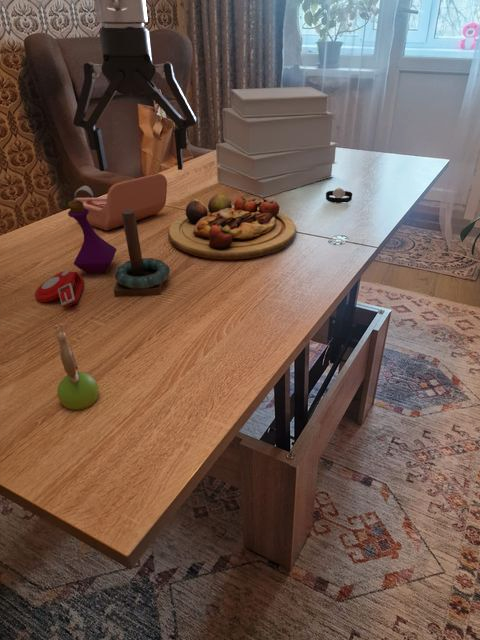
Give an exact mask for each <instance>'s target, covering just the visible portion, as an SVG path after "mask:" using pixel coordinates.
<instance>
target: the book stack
mask: <svg viewBox="0 0 480 640" xmlns="http://www.w3.org/2000/svg"><path fill="white" fill-rule="evenodd" d="M330 97H331V96H330V95H329V94H326V93H324V92H322V91H320V90H318V89H316V88H314V87H312V86H290V87H287V86H286V87H261V88H260V87H259V88H258V87H257V88H256V87H255V88H231V89H230V105H231V106H230V107H225V108H222V109H221V112H222V114H221V115H222V131H223V132H222V133H223V135H222V136H223V141H224V142H220V143H216V144H215V152H216V154H215V155H216V164H217V165H218V166H216V176H217V182H218V184H222V185H224V186H227V187H230V188H233V189H236V190H238V191H241V192H245V193H248V194H251V195H254V196H256V197H259V198H262V199H265V198H267V197H271V196H274V195H277V194H280V193H284V192H287V191H290V190H293V189H297V188H300V187H303V186H307V185H310V184H314V183H317V181H318V182H321V181H324V180H327V179H326V178H328V179H330V178H329V177H331V176H332V174H333V165H335V164H338V161H335V160H336V149H337V148H336V147H337V146H339V143H338V142H335V141H332V131H333V130H332V129H333V117H334V116H336V113H334V112H331V111H328V110H327V107H328V106H327V104H328V98H330ZM331 178H332V177H331ZM323 179H324V180H323ZM320 180H321V181H320Z"/></svg>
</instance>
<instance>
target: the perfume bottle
mask: <svg viewBox="0 0 480 640" xmlns="http://www.w3.org/2000/svg"><path fill="white" fill-rule="evenodd" d="M79 191H85V192H87V193H88V194H89V195H90V196H91V198H94V192H93V191H92V189H91V188H90V187H89V186H88V185H82V186H81V187H79V188H77V189H76V191H75V192H74V198H75V200H74V199H73V200H70V201H69V202H68V203H67V206H68V208H69V210H68V212H67V215H68V217H69V218H73V219H74V220H75V221H76V222H77V223H78V224H79V227H80V229H81V230H82V234H83V242H82V243H81V247H80V250H79V251H78V254H77V255H76V257H75V259H74V261H73V266H75V267H76V268H78V269H80V271H82V272H83V273H85V274H86V275H105V274H107V273H108V271H109V269H110V267H111V265H112V262H113V260H114V257H115V255H116V252H117V248H116V247H115V246H113V245H112V244H110V243H109V242H107V241H106V240H104V239H103V238H102V237H101V236H100V235H99V234H98V233H97V232H96V231H95V229H94V227H93V226H91V225H90V224H89V222H88V220H87V214H88V213H89V211H88V209H86V208H84V205H83V202H81V201H79V200H76V198H77V197H76V196H77V194H78V192H79Z"/></svg>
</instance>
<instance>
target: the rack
mask: <svg viewBox="0 0 480 640" xmlns="http://www.w3.org/2000/svg"><path fill="white" fill-rule="evenodd" d="M122 218H123V224H124V225H123V229H124V234H125V240H126V246H127V251H128V258H129V261H130V263H131V269H132V273H130V274H129V275H130V276H134V277H139V276H147V275H151V274H154V273H155V272H157V271H154V270H144V267H143V261H142V258H143V255H142V249H141V243H140V236H139V231H138V223H137V220H136V217H135V211H134V210H125V211H122ZM162 288H163V283H161V284H160V285H157V286H154V287H150V288H146V289H132V288H128V287H124V286H122V285H120V283H119V282H118V281H117V280H116V282H115V285H114V288H113V294H114V297H117V298H118V297H139V296H160V295H161V293H162Z"/></svg>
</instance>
